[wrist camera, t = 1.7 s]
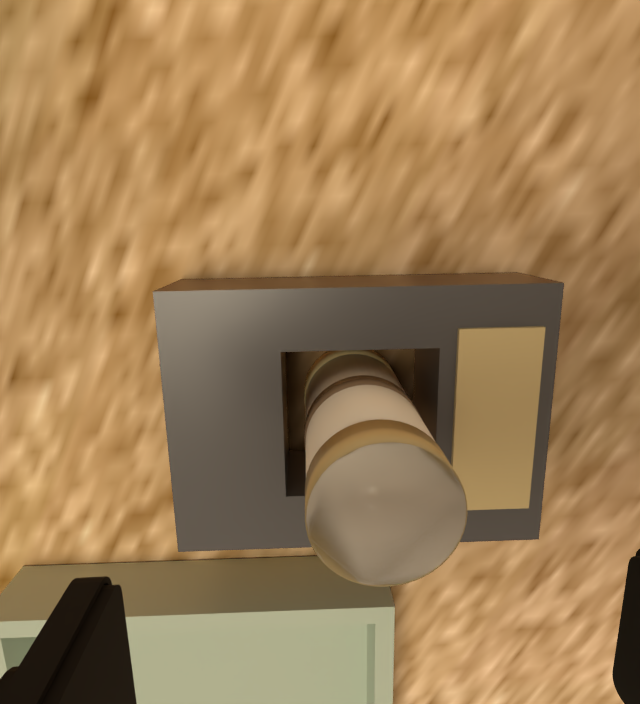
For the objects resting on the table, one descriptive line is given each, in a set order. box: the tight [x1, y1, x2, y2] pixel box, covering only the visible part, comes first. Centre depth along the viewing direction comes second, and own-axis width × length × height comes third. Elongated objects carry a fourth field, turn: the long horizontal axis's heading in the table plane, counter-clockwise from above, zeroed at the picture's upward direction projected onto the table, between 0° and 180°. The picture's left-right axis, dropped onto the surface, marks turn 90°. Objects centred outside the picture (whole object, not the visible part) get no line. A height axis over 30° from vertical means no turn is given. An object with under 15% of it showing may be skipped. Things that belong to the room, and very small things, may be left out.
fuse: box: [304, 350, 468, 587], centre depth 17 cm, size 4×4×10 cm
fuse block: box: [153, 272, 564, 552], centre depth 20 cm, size 14×10×4 cm
